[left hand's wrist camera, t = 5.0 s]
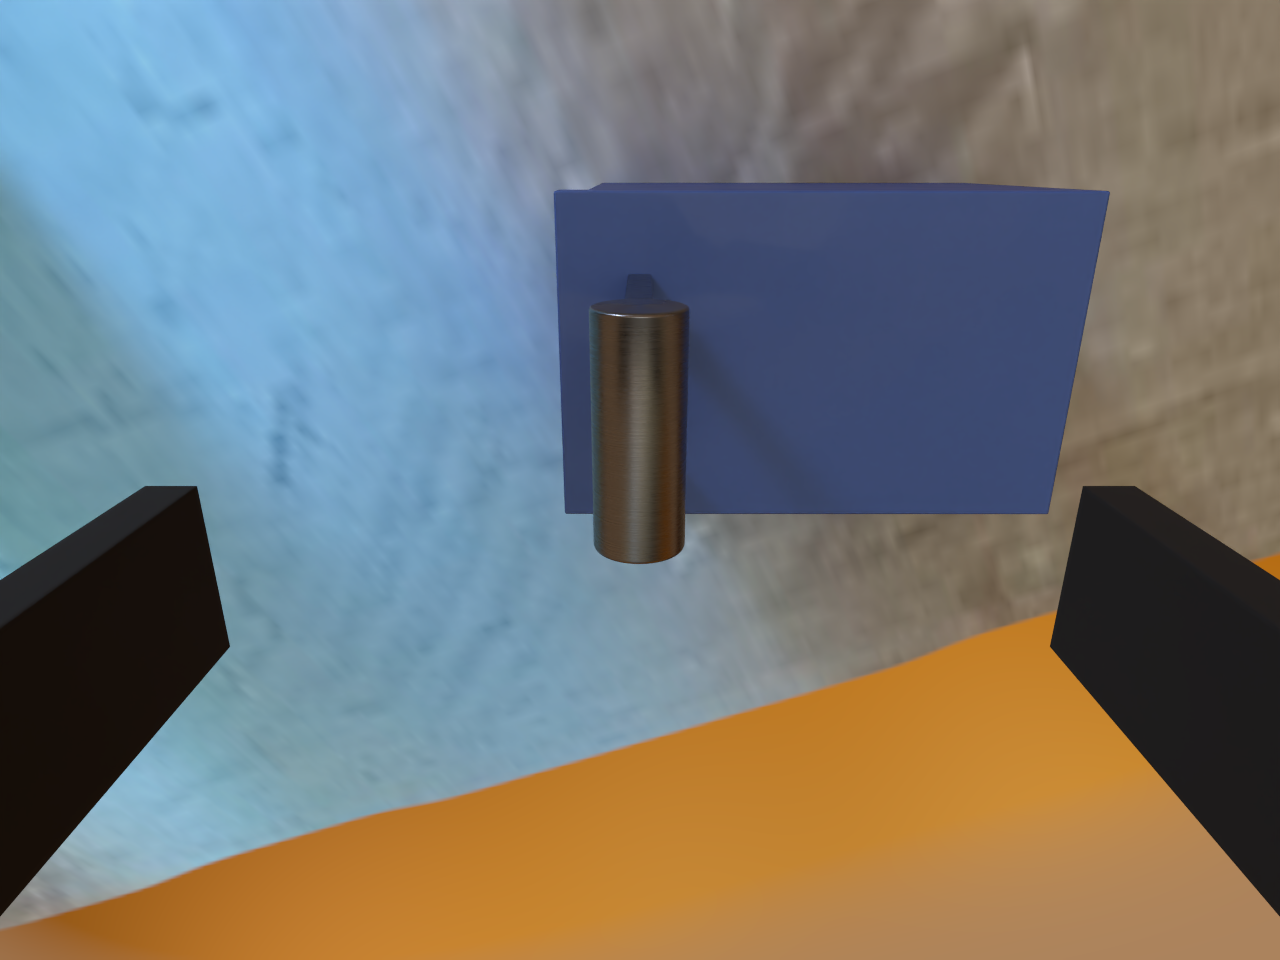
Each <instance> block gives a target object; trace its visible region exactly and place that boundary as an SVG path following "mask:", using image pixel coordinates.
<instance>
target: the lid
mask: <svg viewBox="0 0 1280 960" xmlns="http://www.w3.org/2000/svg"><path fill="white" fill-rule="evenodd" d="M1109 195H1110V192H1109V191H1097V190H557V191H555V192H554V211H555V240H556V268H557V297H558V325H559V354H560V382H561V411H562V440H563V468H564V497H565V513H566V514H593V525H594V546H595V548H596V550H597V551H598V552H599V553H600V554H601V555H602V556H604V557H606V558H608V559H611V560H614V561H618V562H623V563H631V564H648V563H656V562H661V561H664V560H668V559H670V558H672V557H674V556H676V555H677V554H679V553H680V552H681V550H682V549H683V547H684V543H685V514H1048V512H1049V507H1050V501H1051V496H1052V491H1053V486H1054V481H1055V475H1056V470H1057V465H1058V460H1059V455H1060V449H1061V444H1062V439H1063V434H1064V429H1065V423H1066V418H1067V413H1068V408H1069V403H1070V397H1071V392H1072V387H1073V382H1074V377H1075V371H1076V366H1077V361H1078V356H1079V351H1080V345H1081V340H1082V335H1083V330H1084V325H1085V319H1086V314H1087V309H1088V304H1089V299H1090V293H1091V288H1092V283H1093V278H1094V273H1095V267H1096V262H1097V257H1098V252H1099V247H1100V241H1101V236H1102V231H1103V226H1104V221H1105V215H1106V210H1107V205H1108V200H1109Z"/></svg>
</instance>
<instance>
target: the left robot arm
mask: <svg viewBox="0 0 1280 960" xmlns="http://www.w3.org/2000/svg"><path fill="white" fill-rule="evenodd" d="M229 647H230V644H229V639H228V634H227V630H226V625H225V620H224V615H223V610H222V605H221V601H220V596H219V591H218V586H217V581H216V576H215V571H214V567H213V562H212V557H211V552H210V547H209V542H208V537H207V533H206V528H205V523H204V518H203V513H202V508H201V503H200V499H199V494H198V489H197V486H145V487H143V488H142V489H140V490H139V491H137V492H135V493H134V494H132V495H131V496H129V497H128V498H126V499H125V500H123V501H122V502H120V503H119V504H117V505H115V506H114V507H112V508H111V509H109V510H108V511H106V512H105V513H103V514H102V515H100V516H98V517H97V518H95V519H94V520H92V521H91V522H89V523H88V524H86V525H85V526H83V527H82V528H80V529H78V530H77V531H75V532H74V533H72V534H71V535H69V536H68V537H66V538H65V539H63V540H61V541H60V542H58V543H57V544H55V545H54V546H52V547H51V548H49V549H48V550H46V551H45V552H43V553H41V554H40V555H38V556H37V557H35V558H34V559H32V560H31V561H29V562H28V563H26V564H24V565H23V566H21V567H20V568H18V569H17V570H15V571H14V572H12V573H11V574H9V575H8V576H6V577H4V578H3V579H1V580H0V916H1V915H2V914H3V913H4V911H5V910H6V909H7V908H8V907H9V906H10V904H11V903H12V902H13V901H14V900H15V898H16V897H17V896H18V895H19V894H20V893H21V891H22V890H23V889H24V888H25V887H26V886H27V884H28V883H29V882H30V881H31V880H32V879H33V877H34V876H35V875H36V874H37V873H38V871H39V870H40V869H41V868H42V867H43V866H44V864H45V863H46V862H47V861H48V860H49V859H50V857H51V856H52V855H53V854H54V853H55V852H56V850H57V849H58V848H59V847H60V846H61V844H62V843H63V842H64V841H65V840H66V839H67V837H68V836H69V835H70V834H71V833H72V832H73V830H74V829H75V828H76V827H77V826H78V825H79V823H80V822H81V821H82V820H83V819H84V817H85V816H86V815H87V814H88V813H89V812H90V810H91V809H92V808H93V807H94V806H95V805H96V803H97V802H98V801H99V800H100V799H101V797H102V796H103V795H104V794H105V793H106V792H107V790H108V789H109V788H110V787H111V786H112V785H113V783H114V782H115V781H116V780H117V779H118V778H119V776H120V775H121V774H122V773H123V772H124V770H125V769H126V768H127V767H128V766H129V765H130V763H131V762H132V761H133V760H134V759H135V758H136V756H137V755H138V754H139V753H140V752H141V751H142V749H143V748H144V747H145V746H146V745H147V743H148V742H149V741H150V740H151V739H152V738H153V736H154V735H155V734H156V733H157V732H158V731H159V729H160V728H161V727H162V726H163V725H164V724H165V722H166V721H167V720H168V719H169V718H170V716H171V715H172V714H173V713H174V712H175V711H176V709H177V708H178V707H179V706H180V705H181V704H182V702H183V701H184V700H185V699H186V698H187V697H188V695H189V694H190V693H191V692H192V691H193V689H194V688H195V687H196V686H197V685H198V684H199V682H200V681H201V680H202V679H203V678H204V677H205V675H206V674H207V673H208V672H209V671H210V669H211V668H212V667H213V666H214V665H215V664H216V662H217V661H218V660H219V659H220V658H221V657H222V655H223V654H224V653H225V652H226V651H227V650H228V648H229ZM1050 647H1051V648H1052V649H1053V651H1054V652H1055V653H1056V654H1057V655H1058V657H1059V658H1060V659H1061V660H1062V661H1063V662H1064V664H1065V665H1066V666H1067V667H1068V668H1069V669H1070V671H1071V672H1072V673H1073V674H1074V675H1075V676H1076V678H1077V679H1078V680H1079V681H1080V682H1081V684H1082V685H1083V686H1084V687H1085V688H1086V689H1087V691H1088V692H1089V693H1090V694H1091V695H1092V696H1093V698H1094V699H1095V700H1096V701H1097V702H1098V704H1099V705H1100V706H1101V707H1102V708H1103V709H1104V711H1105V712H1106V713H1107V714H1108V715H1109V716H1110V718H1111V719H1112V720H1113V721H1114V722H1115V724H1116V725H1117V726H1118V727H1119V728H1120V729H1121V731H1122V732H1123V733H1124V734H1125V735H1126V736H1127V738H1128V739H1129V740H1130V741H1131V742H1132V743H1133V745H1134V746H1135V747H1136V748H1137V749H1138V750H1139V752H1140V753H1141V754H1142V755H1143V756H1144V758H1145V759H1146V760H1147V761H1148V762H1149V763H1150V765H1151V766H1152V767H1153V768H1154V769H1155V770H1156V772H1157V773H1158V774H1159V775H1160V776H1161V777H1162V779H1163V780H1164V781H1165V782H1166V783H1167V785H1168V786H1169V787H1170V788H1171V789H1172V790H1173V792H1174V793H1175V794H1176V795H1177V796H1178V797H1179V799H1180V800H1181V801H1182V802H1183V803H1184V805H1185V806H1186V807H1187V808H1188V809H1189V810H1190V812H1191V813H1192V814H1193V815H1194V816H1195V817H1196V819H1197V820H1198V821H1199V822H1200V823H1201V824H1202V826H1203V827H1204V828H1205V829H1206V830H1207V832H1208V833H1209V834H1210V835H1211V836H1212V837H1213V839H1214V840H1215V841H1216V842H1217V843H1218V844H1219V846H1220V847H1221V848H1222V849H1223V850H1224V851H1225V853H1226V854H1227V855H1228V856H1229V857H1230V859H1231V860H1232V861H1233V862H1234V863H1235V864H1236V866H1237V867H1238V868H1239V869H1240V870H1241V871H1242V873H1243V874H1244V875H1245V876H1246V877H1247V878H1248V880H1249V881H1250V882H1251V883H1252V884H1253V886H1254V887H1255V888H1256V889H1257V890H1258V891H1259V893H1260V894H1261V895H1262V896H1263V897H1264V898H1265V900H1266V901H1267V902H1268V903H1269V904H1270V905H1271V907H1272V908H1273V909H1274V910H1275V911H1276V913H1277V914H1278V915H1279V916H1280V580H1279V579H1277V578H1275V577H1274V576H1272V575H1271V574H1269V573H1268V572H1266V571H1265V570H1263V569H1262V568H1260V567H1259V566H1257V565H1256V564H1254V563H1252V562H1251V561H1249V560H1248V559H1246V558H1245V557H1243V556H1242V555H1240V554H1239V553H1237V552H1235V551H1234V550H1232V549H1231V548H1229V547H1228V546H1226V545H1225V544H1223V543H1222V542H1220V541H1219V540H1217V539H1215V538H1214V537H1212V536H1211V535H1209V534H1208V533H1206V532H1205V531H1203V530H1202V529H1200V528H1198V527H1197V526H1195V525H1194V524H1192V523H1191V522H1189V521H1188V520H1186V519H1185V518H1183V517H1182V516H1180V515H1178V514H1177V513H1175V512H1174V511H1172V510H1171V509H1169V508H1168V507H1166V506H1165V505H1163V504H1161V503H1160V502H1158V501H1157V500H1155V499H1154V498H1152V497H1151V496H1149V495H1148V494H1146V493H1145V492H1143V491H1141V490H1140V489H1138V488H1137V487H1135V486H1083V489H1082V494H1081V499H1080V503H1079V508H1078V513H1077V518H1076V523H1075V528H1074V533H1073V537H1072V542H1071V547H1070V552H1069V557H1068V562H1067V567H1066V571H1065V576H1064V581H1063V586H1062V591H1061V596H1060V600H1059V605H1058V610H1057V615H1056V620H1055V625H1054V630H1053V635H1052V639H1051V644H1050Z"/></svg>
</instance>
